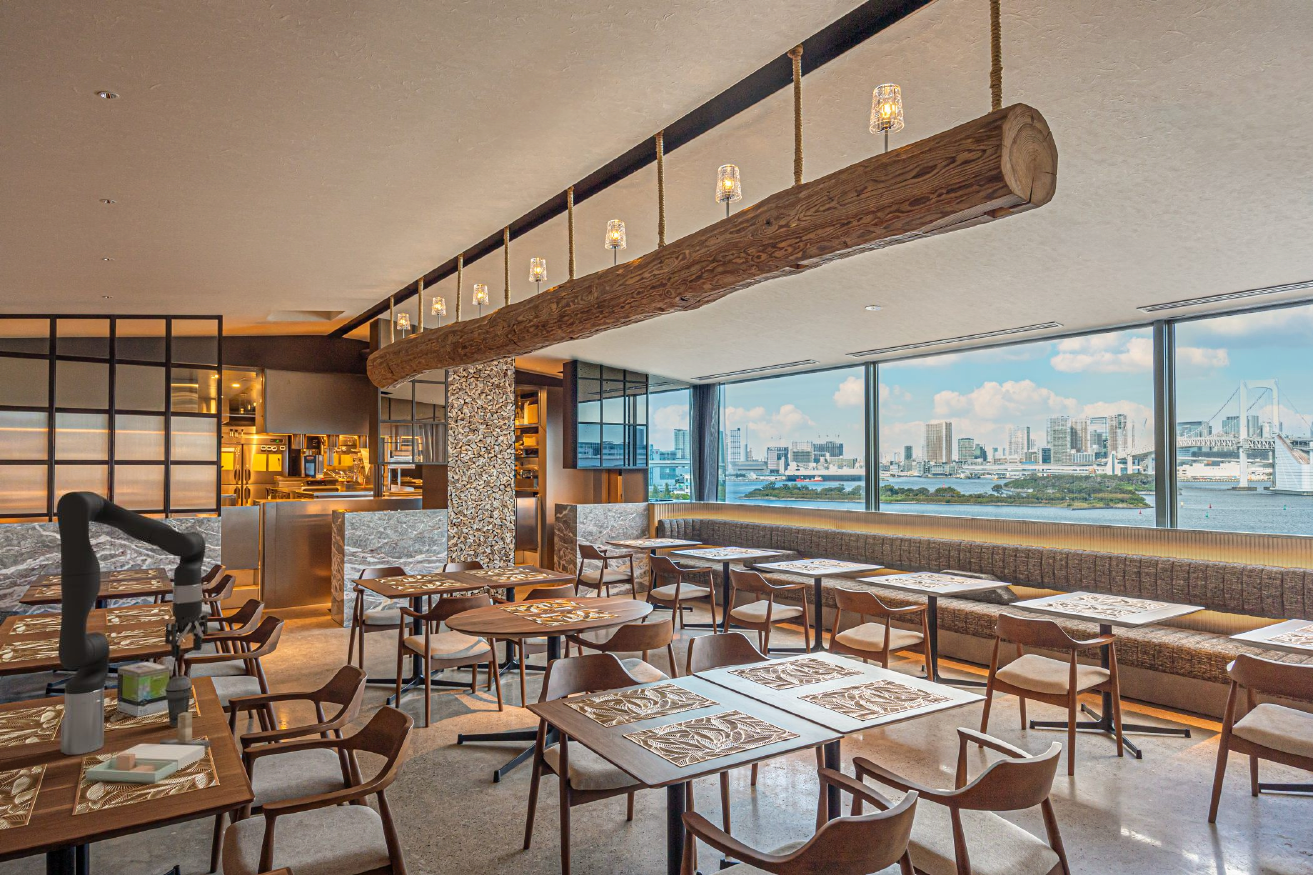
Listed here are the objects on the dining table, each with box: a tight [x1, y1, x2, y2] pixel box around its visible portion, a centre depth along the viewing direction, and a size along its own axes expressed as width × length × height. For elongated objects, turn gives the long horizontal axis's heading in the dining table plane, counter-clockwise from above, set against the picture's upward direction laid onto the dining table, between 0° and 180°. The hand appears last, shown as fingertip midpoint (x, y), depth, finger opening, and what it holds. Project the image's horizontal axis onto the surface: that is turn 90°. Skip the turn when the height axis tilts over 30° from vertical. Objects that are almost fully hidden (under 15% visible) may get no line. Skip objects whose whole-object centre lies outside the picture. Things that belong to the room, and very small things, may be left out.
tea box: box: [116, 661, 170, 718], centre depth 255 cm, size 15×10×15 cm
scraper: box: [159, 711, 211, 750], centre depth 219 cm, size 14×2×10 cm, turn 83°
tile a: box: [116, 753, 135, 771], centre depth 202 cm, size 4×4×2 cm
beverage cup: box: [165, 660, 193, 728], centre depth 240 cm, size 7×7×20 cm
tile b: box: [130, 765, 154, 772], centre depth 198 cm, size 4×4×2 cm
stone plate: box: [110, 743, 206, 771], centre depth 208 cm, size 20×10×3 cm, turn 83°
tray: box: [85, 758, 178, 784], centre depth 199 cm, size 20×8×2 cm, turn 83°
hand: (186, 653), depth 225 cm, fingers open, 8 cm apart
